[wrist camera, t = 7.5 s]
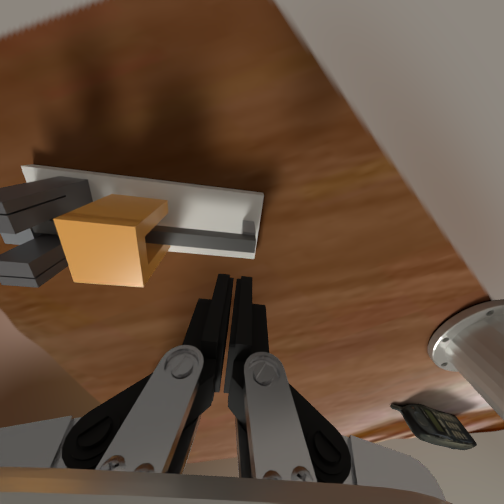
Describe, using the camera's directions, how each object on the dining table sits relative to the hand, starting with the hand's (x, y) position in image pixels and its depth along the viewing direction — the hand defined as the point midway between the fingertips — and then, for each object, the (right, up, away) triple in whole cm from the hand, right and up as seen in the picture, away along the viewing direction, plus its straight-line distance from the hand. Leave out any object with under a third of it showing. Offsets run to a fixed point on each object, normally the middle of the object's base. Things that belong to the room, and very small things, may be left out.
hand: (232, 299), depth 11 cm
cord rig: (-7, +6, +8) cm, 12 cm away
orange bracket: (-8, +5, +6) cm, 11 cm away
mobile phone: (+31, -26, +27) cm, 49 cm away
